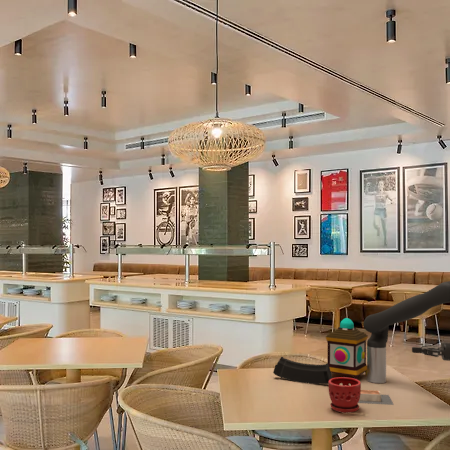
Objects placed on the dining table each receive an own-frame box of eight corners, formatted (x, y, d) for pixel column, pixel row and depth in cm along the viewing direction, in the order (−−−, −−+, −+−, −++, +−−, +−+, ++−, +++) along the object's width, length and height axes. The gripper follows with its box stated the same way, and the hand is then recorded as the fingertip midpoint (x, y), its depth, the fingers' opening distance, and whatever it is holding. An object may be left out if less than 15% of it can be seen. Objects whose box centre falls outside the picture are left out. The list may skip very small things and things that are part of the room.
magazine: (338, 367, 263) (283, 343, 277) (336, 368, 260) (281, 344, 274) (328, 400, 265) (274, 374, 279) (326, 401, 262) (271, 375, 276)
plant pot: (324, 405, 231) (324, 376, 232) (355, 405, 232) (355, 376, 233) (333, 415, 218) (333, 385, 219) (365, 414, 219) (365, 384, 219)
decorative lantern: (358, 383, 267) (358, 322, 268) (320, 377, 278) (321, 318, 279) (372, 375, 284) (372, 317, 285) (336, 370, 295) (336, 314, 296)
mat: (338, 393, 249) (338, 392, 249) (388, 396, 246) (388, 394, 246) (340, 403, 234) (340, 402, 234) (393, 406, 231) (393, 404, 231)
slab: (379, 397, 241) (337, 395, 244) (379, 390, 241) (337, 388, 244) (381, 401, 235) (338, 399, 238) (381, 394, 235) (338, 392, 238)
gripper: (450, 340, 241) (409, 338, 243) (458, 346, 228) (415, 344, 230) (450, 357, 241) (409, 355, 243) (458, 364, 228) (415, 362, 230)
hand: (412, 349), depth 237 cm, fingers closed
